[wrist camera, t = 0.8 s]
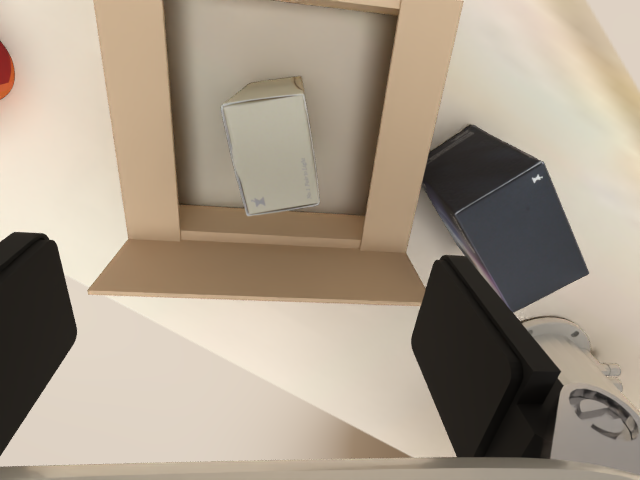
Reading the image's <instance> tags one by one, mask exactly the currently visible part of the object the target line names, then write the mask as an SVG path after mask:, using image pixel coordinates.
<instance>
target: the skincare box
mask: <svg viewBox="0 0 640 480" xmlns="http://www.w3.org/2000/svg"><path fill="white" fill-rule="evenodd" d="M221 113H222V118H223V123H224V127H225V132H226V136H227V141H228V145H229V149H230V154H231V158H232V163H233V166H234V170H235V174H236V178H237V182H238V186H239V189H240V193H241V197H242V201H243V204H244V208H245V212H246V215H247V216H253V215H261V214H268V213H276V212H282V211H288V210H295V209H301V208H306V207H312V206H317V205H319V203H320V198H319V187H318V178H317V170H316V162H315V155H314V148H313V142H312V135H311V129H310V123H309V117H308V111H307V105H306V100H305V94H304V88H303V82H302V78H301V77H300V76H298V77H289V78H281V79H274V80H266V81H260V82H254V83H249V84H248V85H247V86H245V87H244V88H243V89H242V90H240V91H239V92H238V93H236V94H235V95H234V96H233V97H231V98H230V99H229V100H228V101H226V102H225V103H223V104H222V106H221Z"/></svg>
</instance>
